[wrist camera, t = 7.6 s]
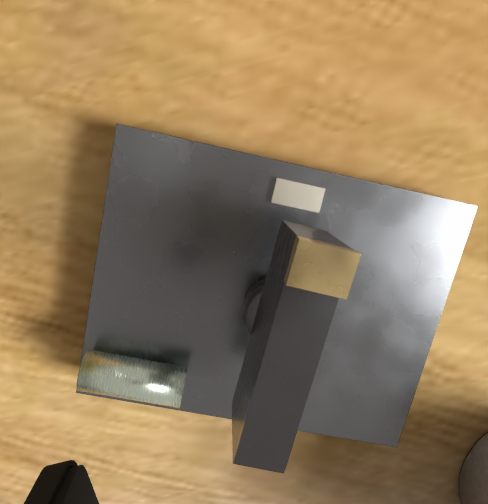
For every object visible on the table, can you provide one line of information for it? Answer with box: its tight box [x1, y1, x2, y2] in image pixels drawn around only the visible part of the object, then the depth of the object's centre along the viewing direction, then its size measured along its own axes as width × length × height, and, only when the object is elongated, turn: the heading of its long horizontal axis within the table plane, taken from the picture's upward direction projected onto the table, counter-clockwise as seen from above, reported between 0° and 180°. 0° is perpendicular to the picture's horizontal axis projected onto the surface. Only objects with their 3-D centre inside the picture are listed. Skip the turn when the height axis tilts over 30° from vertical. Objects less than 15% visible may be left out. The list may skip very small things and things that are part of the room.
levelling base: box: [76, 124, 478, 447], centre depth 21 cm, size 18×14×4 cm
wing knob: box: [232, 220, 361, 473], centre depth 17 cm, size 9×3×7 cm, turn 166°
